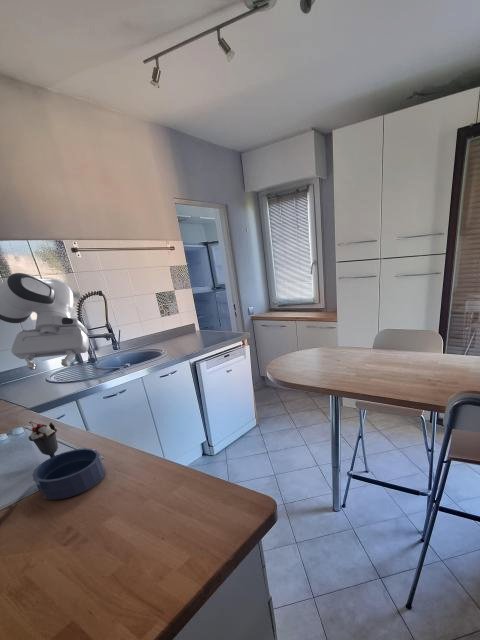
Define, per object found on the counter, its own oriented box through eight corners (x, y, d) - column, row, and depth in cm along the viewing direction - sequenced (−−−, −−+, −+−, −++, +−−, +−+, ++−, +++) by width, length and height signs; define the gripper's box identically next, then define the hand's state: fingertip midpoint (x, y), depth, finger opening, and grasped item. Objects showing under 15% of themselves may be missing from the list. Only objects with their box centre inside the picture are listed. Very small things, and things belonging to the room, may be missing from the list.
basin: (28, 505, 80) (18, 485, 78) (59, 470, 94) (51, 452, 91) (92, 496, 82) (84, 476, 80) (113, 463, 95) (107, 445, 93)
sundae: (39, 473, 93) (17, 426, 87) (45, 461, 98) (25, 416, 92) (67, 466, 95) (47, 420, 89) (71, 455, 101) (53, 410, 95)
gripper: (9, 325, 99) (2, 366, 95) (82, 318, 102) (78, 358, 97) (24, 336, 105) (18, 375, 100) (93, 330, 108) (89, 368, 103)
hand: (48, 367), depth 99 cm, fingers open, 8 cm apart
